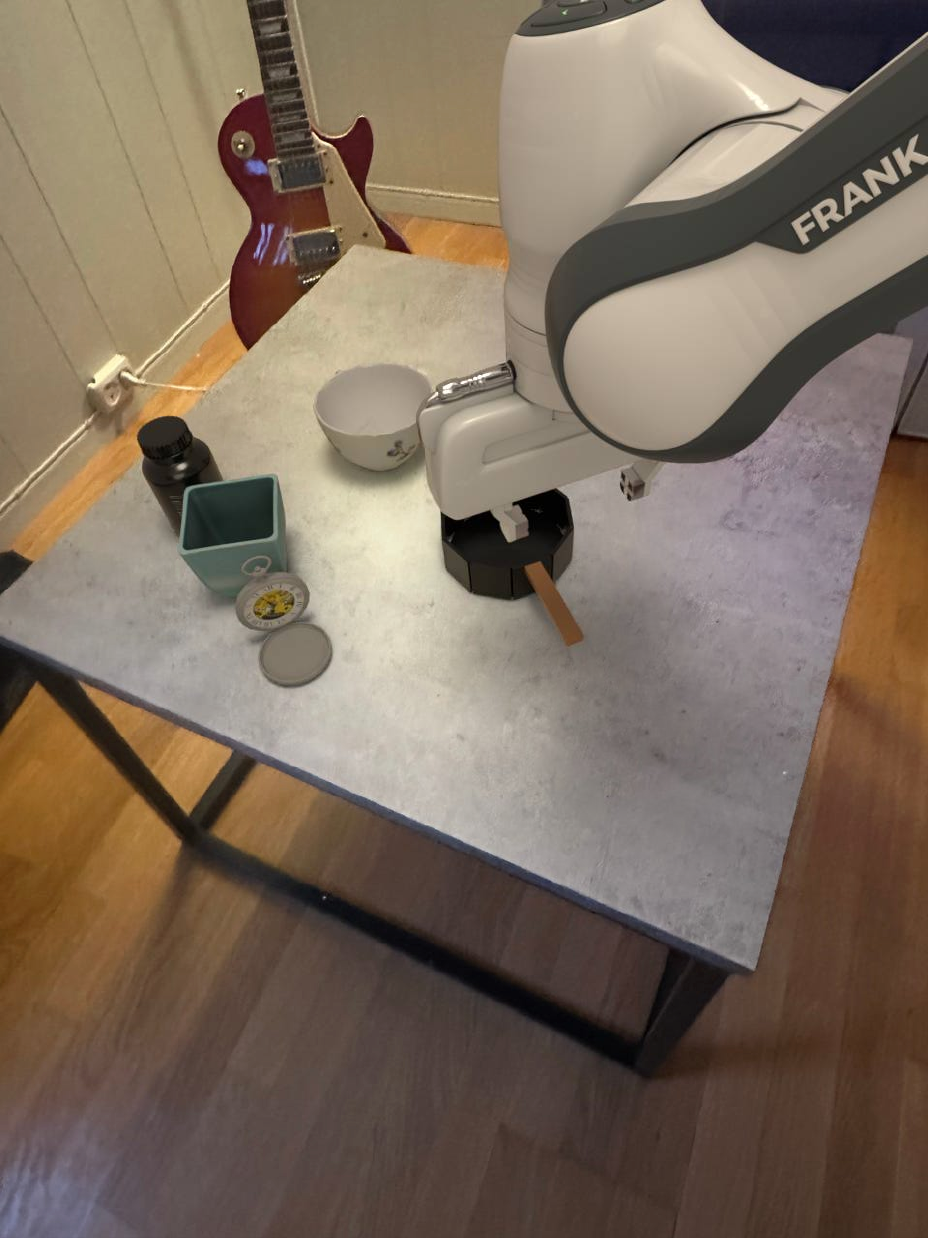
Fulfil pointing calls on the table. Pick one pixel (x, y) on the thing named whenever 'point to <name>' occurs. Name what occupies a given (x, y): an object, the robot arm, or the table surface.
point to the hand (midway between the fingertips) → (575, 513)
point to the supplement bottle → (174, 463)
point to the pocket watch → (283, 626)
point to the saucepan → (516, 556)
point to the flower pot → (233, 531)
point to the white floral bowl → (373, 413)
